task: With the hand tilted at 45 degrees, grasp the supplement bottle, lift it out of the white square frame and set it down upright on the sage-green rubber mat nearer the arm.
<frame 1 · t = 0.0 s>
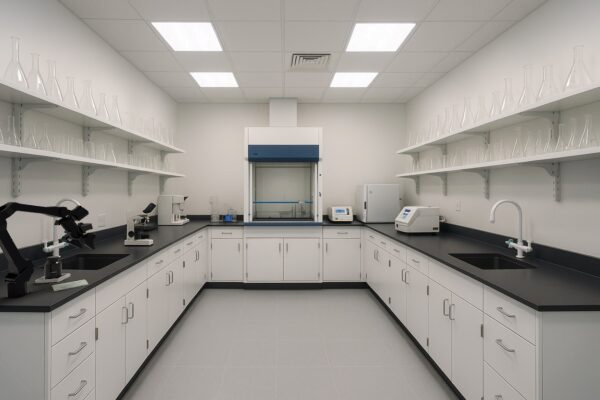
hand: (87, 248, 157), 15 cm above the worktop, tool tilted 35°, fingers open, 9 cm apart
mat: (70, 285, 142), on the worktop
white square frame: (53, 279, 152), on the worktop
supplement bottle: (53, 279, 152), resting in white square frame
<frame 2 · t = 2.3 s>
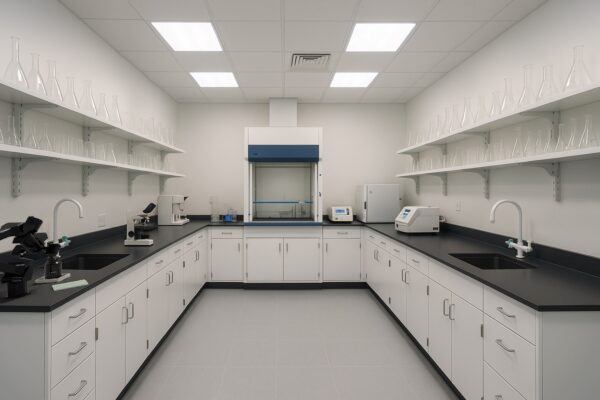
hand: (45, 259, 146), 12 cm above the worktop, tool tilted 45°, fingers open, 9 cm apart
nothing on the worktop moved.
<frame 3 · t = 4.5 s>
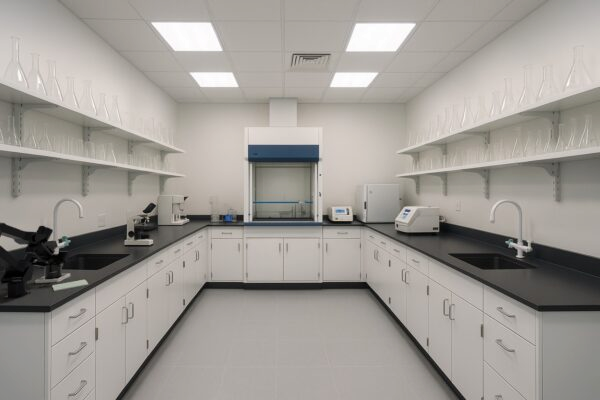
hand: (55, 266, 153), 7 cm above the worktop, tool tilted 45°, fingers closed on supplement bottle, 7 cm apart
supplement bottle: (53, 279, 152), resting in white square frame, touching gripper
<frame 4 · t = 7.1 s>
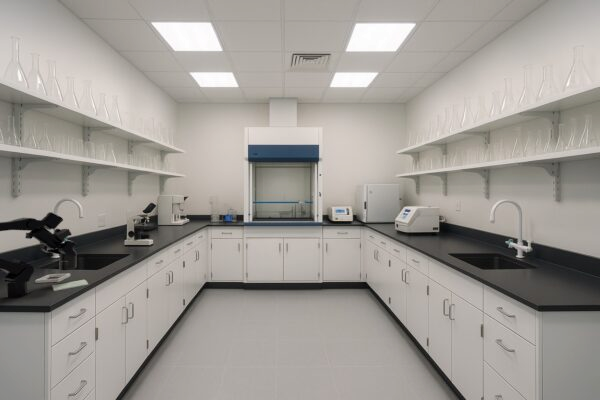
hand: (71, 255, 148), 13 cm above the worktop, tool tilted 45°, fingers closed on supplement bottle, 7 cm apart
supplement bottle: (68, 269, 147), point 7 cm above the worktop, touching gripper
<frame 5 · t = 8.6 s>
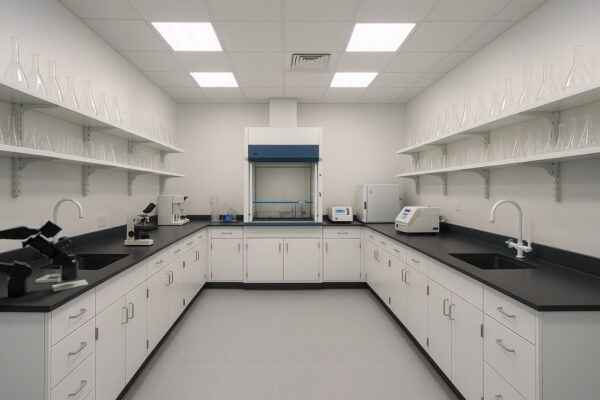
hand: (72, 265, 142), 10 cm above the worktop, tool tilted 45°, fingers closed on supplement bottle, 7 cm apart
supplement bottle: (69, 279, 141), point 3 cm above the worktop, touching gripper
when the fingers open (8 cm above the worktop, at t = 9.5 s): supplement bottle drops 1 cm, resting on mat.
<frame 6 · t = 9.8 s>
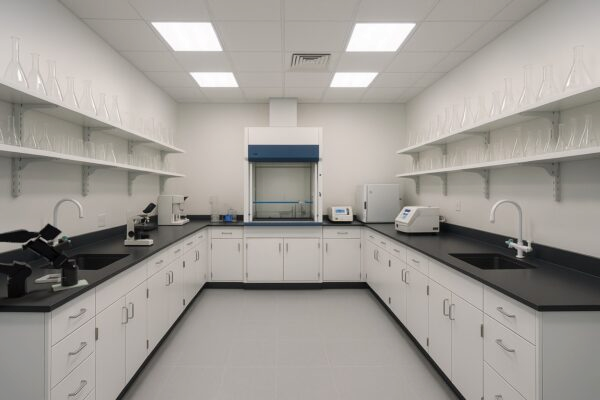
hand: (73, 267, 142), 9 cm above the worktop, tool tilted 45°, fingers open, 9 cm apart
supplement bottle: (69, 285, 141), resting on mat
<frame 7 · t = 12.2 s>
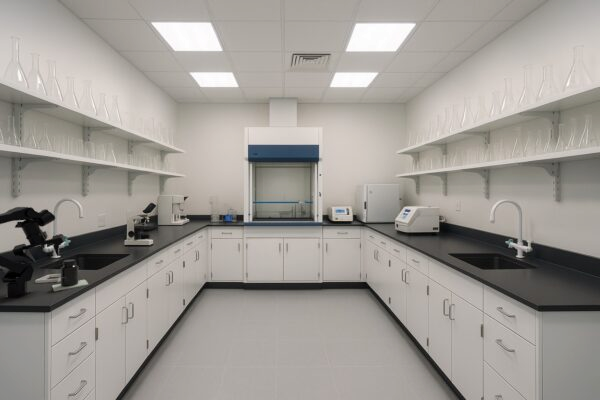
hand: (46, 259, 141), 13 cm above the worktop, tool tilted 25°, fingers open, 9 cm apart
nothing on the worktop moved.
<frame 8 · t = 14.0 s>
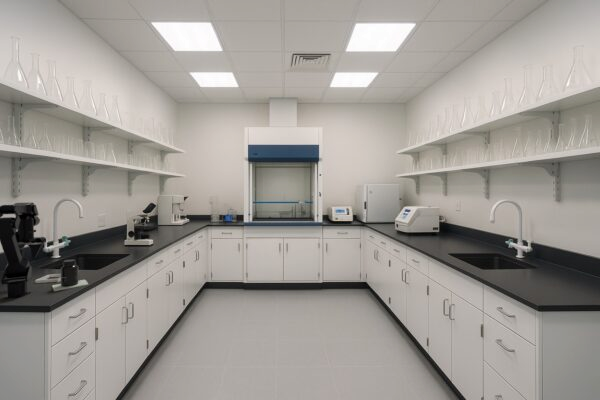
hand: (26, 260, 139), 13 cm above the worktop, tool pointing down, fingers open, 9 cm apart
nothing on the worktop moved.
at the end: supplement bottle inside the target area on the mat (0.2 cm from its centre), point 0.3 cm above the mat's base; supplement bottle tilted 0°; the gripper is holding nothing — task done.
